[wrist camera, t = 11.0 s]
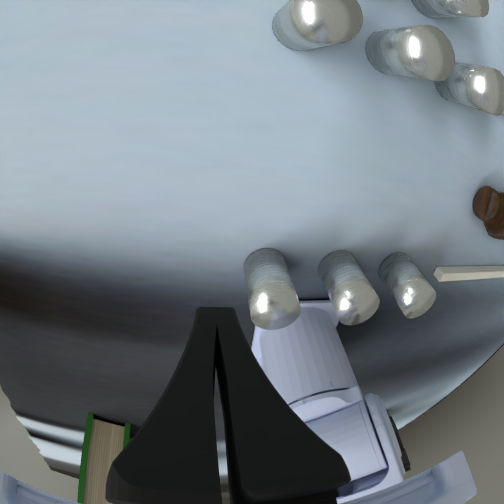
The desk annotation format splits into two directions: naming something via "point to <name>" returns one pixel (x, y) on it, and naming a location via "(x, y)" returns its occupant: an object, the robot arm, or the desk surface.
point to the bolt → (490, 210)
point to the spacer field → (388, 62)
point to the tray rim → (468, 272)
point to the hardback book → (99, 457)
